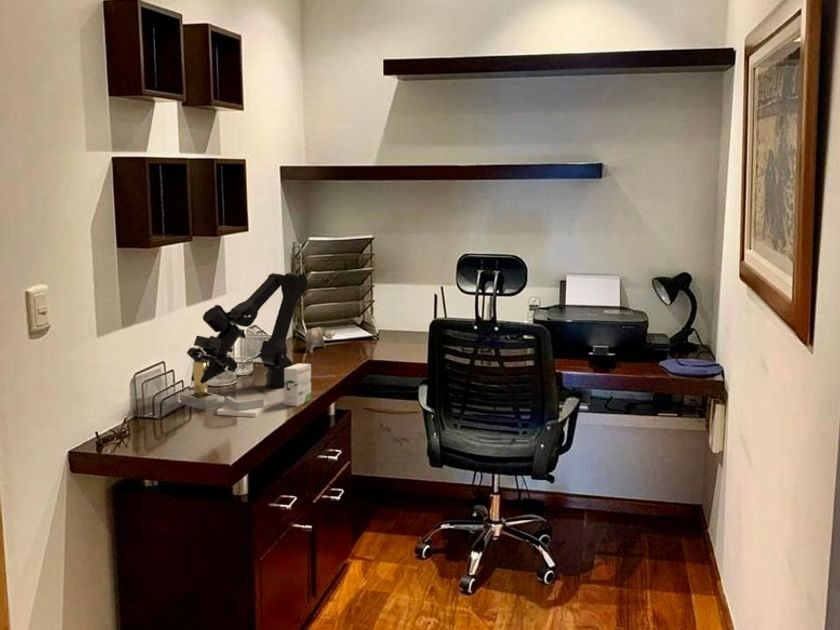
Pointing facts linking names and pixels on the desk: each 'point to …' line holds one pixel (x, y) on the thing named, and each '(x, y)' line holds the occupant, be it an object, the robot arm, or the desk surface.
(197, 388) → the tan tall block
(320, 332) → the elephant figurine
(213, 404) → the grey socket block
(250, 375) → the desk surface
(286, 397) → the ink box
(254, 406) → the v block
